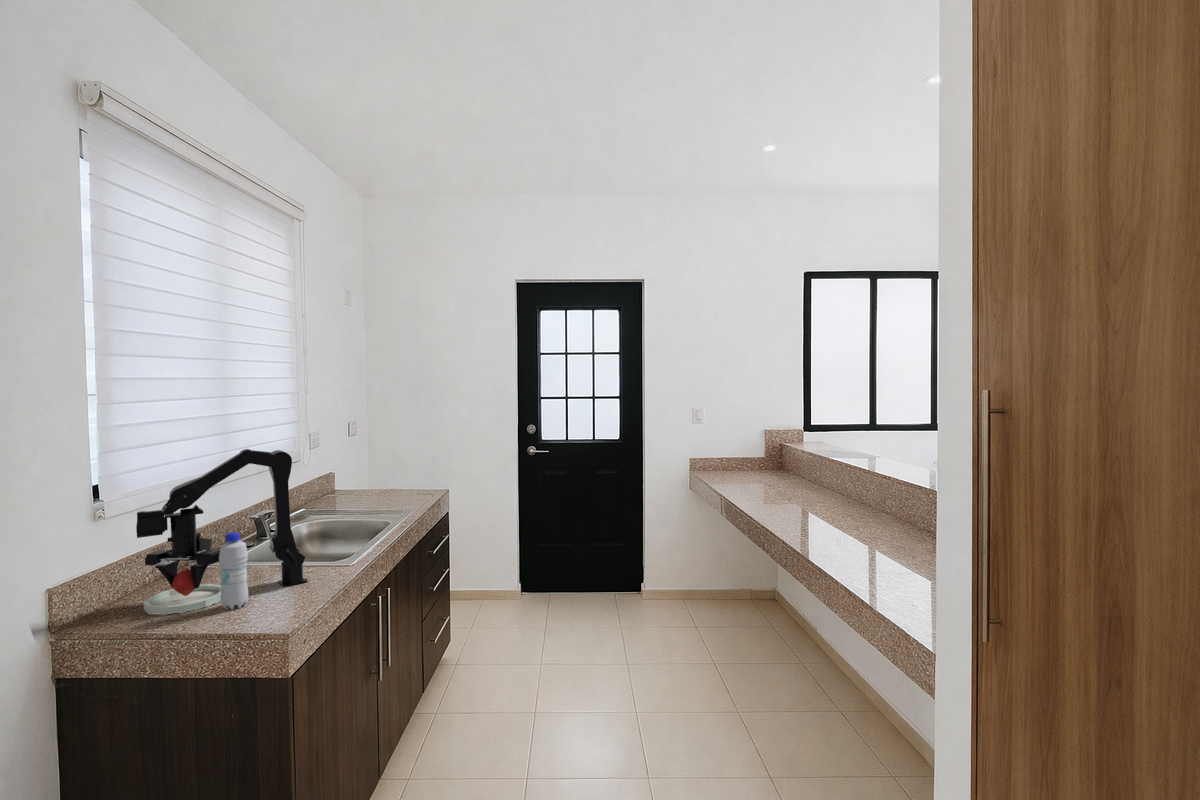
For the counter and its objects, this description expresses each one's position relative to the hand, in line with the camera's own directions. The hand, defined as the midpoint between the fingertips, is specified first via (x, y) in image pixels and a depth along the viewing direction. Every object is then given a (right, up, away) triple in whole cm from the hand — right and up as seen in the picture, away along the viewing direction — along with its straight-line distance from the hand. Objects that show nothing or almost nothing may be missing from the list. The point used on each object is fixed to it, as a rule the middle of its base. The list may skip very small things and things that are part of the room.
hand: (186, 588), depth 167 cm
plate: (0, -4, 0) cm, 4 cm away
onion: (0, -2, 0) cm, 2 cm away
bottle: (+16, -4, -4) cm, 17 cm away
